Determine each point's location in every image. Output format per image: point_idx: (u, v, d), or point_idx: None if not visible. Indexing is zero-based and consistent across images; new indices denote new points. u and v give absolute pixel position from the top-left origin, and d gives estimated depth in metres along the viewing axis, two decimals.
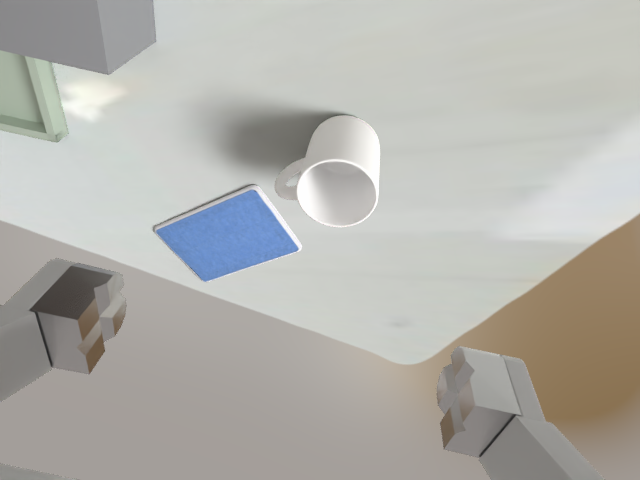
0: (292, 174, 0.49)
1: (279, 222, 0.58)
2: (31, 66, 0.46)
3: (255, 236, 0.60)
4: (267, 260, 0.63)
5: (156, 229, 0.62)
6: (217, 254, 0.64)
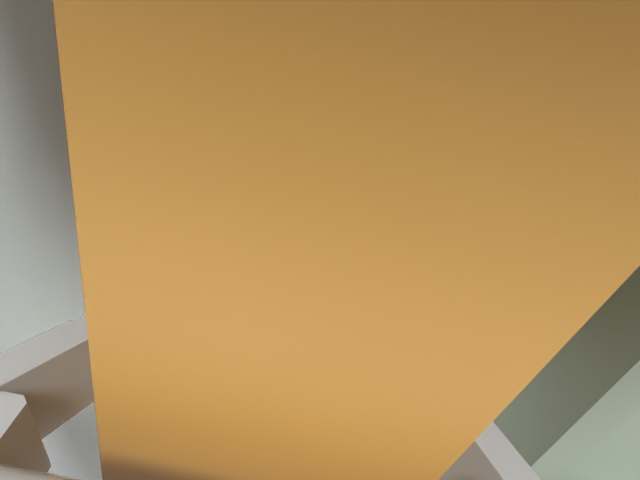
0: None
1: None
2: None
3: None
4: None
5: None
6: None
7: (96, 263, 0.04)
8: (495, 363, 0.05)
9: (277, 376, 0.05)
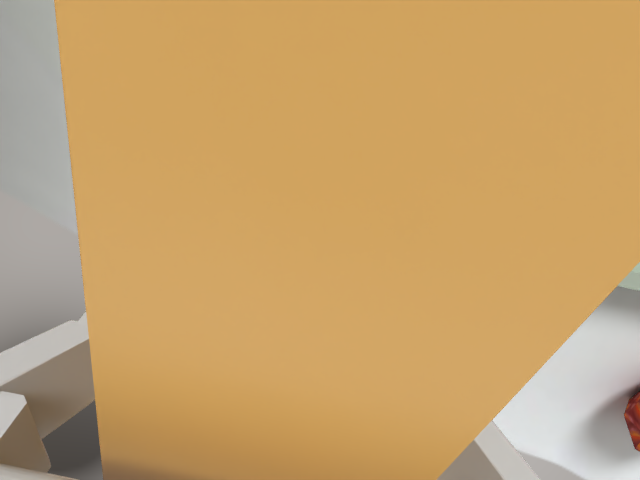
0: None
1: None
2: None
3: None
4: None
5: None
6: None
7: (97, 263, 0.04)
8: (493, 363, 0.05)
9: (277, 376, 0.05)
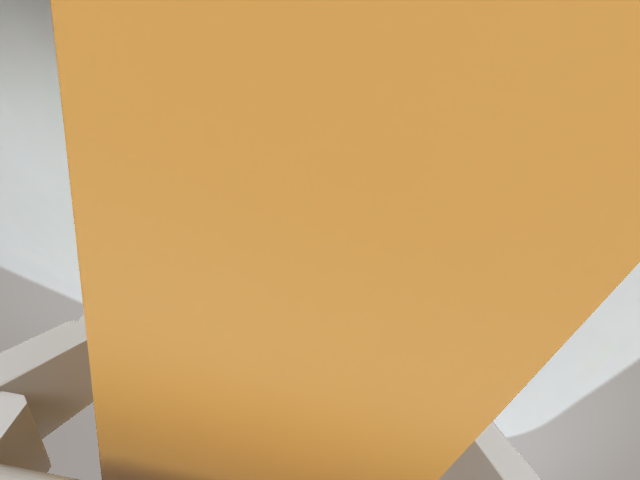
0: None
1: None
2: None
3: None
4: None
5: None
6: None
7: (95, 266, 0.04)
8: (492, 365, 0.05)
9: (275, 378, 0.05)
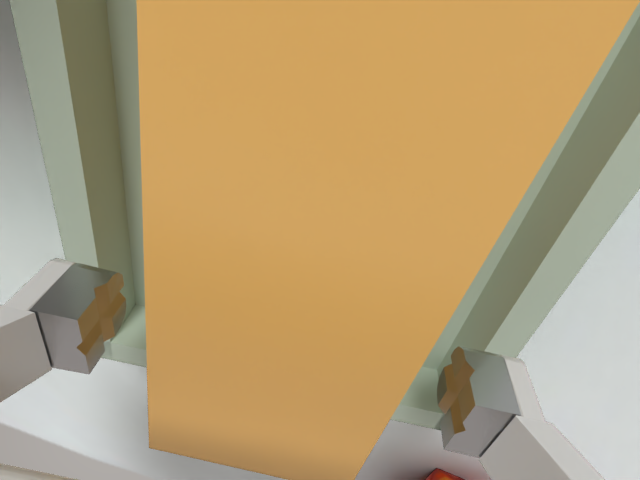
0: None
1: None
2: None
3: None
4: None
5: None
6: None
7: (153, 197, 0.06)
8: (445, 265, 0.06)
9: (286, 286, 0.07)
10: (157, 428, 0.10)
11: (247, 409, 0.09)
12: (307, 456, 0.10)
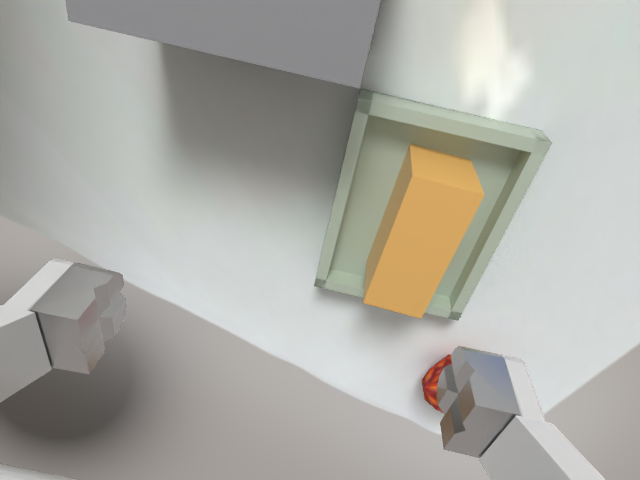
0: None
1: None
2: (421, 120, 0.30)
3: None
4: None
5: None
6: None
7: (393, 232, 0.31)
8: (450, 246, 0.31)
9: (416, 251, 0.31)
10: (368, 294, 0.34)
11: (398, 286, 0.33)
12: (411, 303, 0.34)
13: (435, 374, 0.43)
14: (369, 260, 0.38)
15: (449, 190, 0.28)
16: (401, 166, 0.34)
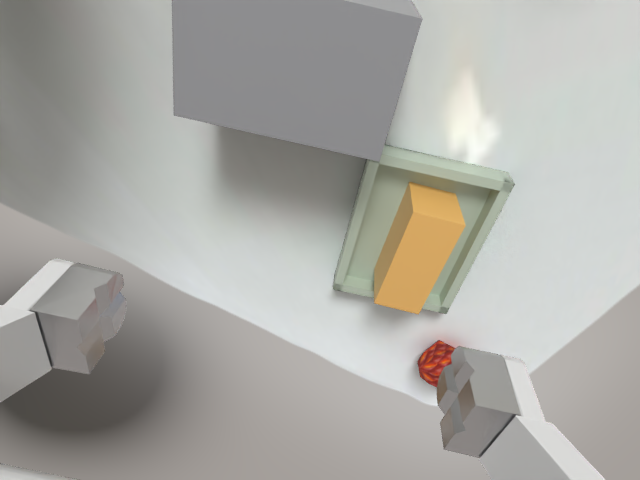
0: None
1: None
2: (418, 168, 0.40)
3: None
4: None
5: None
6: None
7: (398, 251, 0.41)
8: (441, 261, 0.41)
9: (415, 265, 0.42)
10: (378, 297, 0.45)
11: (401, 290, 0.44)
12: (411, 303, 0.45)
13: (428, 356, 0.54)
14: (377, 269, 0.48)
15: (440, 222, 0.39)
16: (402, 198, 0.44)
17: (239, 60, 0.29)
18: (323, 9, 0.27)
